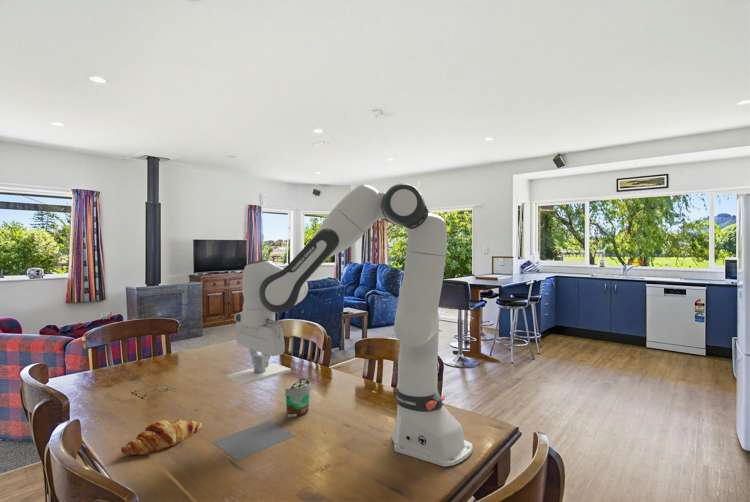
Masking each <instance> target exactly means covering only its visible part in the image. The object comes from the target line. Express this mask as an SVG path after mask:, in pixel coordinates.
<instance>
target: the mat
mask: <svg viewBox="0 0 750 502" xmlns="http://www.w3.org/2000/svg"><path fill="white" fill-rule="evenodd" d="M294 437H296V434H293V433H291V432H290V431H288V430H286V429H284V428H283V427H280V426H279V425H277V424H275V422H274V423H273V422H272V421H271V420H268V421H266V422H262V423H259V424H257V425H253V426H251V427H248V428H245V429H243V430H240V431H238V432H235V433H233V434H229V435H227V436H223V437H220V438H218V439H216V440H212V441H211V443H212V444H214V445H215V446H217V447H218V448H219V449H220V450H222V451H223V452H224V453H226V454H227V455H228V456H230V457H231V458H232V459H233V460H235V461H238V460H241V459H243V458H247V457H248V456H251V455H254V454H255V453H259V452H261V451H263V450H265V449H268V448H269V447H272V446H275V445H277V444H279V443H282V442H284V441H286V440H289V439H291V438H294Z"/></svg>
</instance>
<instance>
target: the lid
mask: <svg viewBox="0 0 750 502" xmlns="http://www.w3.org/2000/svg"><path fill="white" fill-rule="evenodd" d="M262 358H263V356H262V354H258V355H256V356H254V364H253V368H248V369H245V370H239V371H237V372H233V373H229V374H226V378H227V379H229V380H232V381H234V382H235V383H237V384H240V385H242V386H246V385H249V384H252V383H256V382H259V381H260V382H261V381H262V380H267V379H269V378H274V377H277V376H280V375H284V374H288V373H291V372H292V368H289V367H287V366H284V365H282V364H280V363H279V364H278V363H275V362H272V363H268V367H267V368H262V367H260V361H262Z"/></svg>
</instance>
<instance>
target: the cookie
mask: <svg viewBox="0 0 750 502" xmlns="http://www.w3.org/2000/svg"><path fill="white" fill-rule="evenodd" d="M160 384H161V385H157V384H156V385H157V386H155V385H152V386H153V387H151V386H149V387H150V388H147V387H145V389H144V388H140V389H136V390H137V391H136V390H133V391H134V392H132V391H131V392H132V393H131V394H133V393H135V394H140V393H143V392H146V391H147V390H148V391H149V390H151V389H154V388H155V387H157V388H158V387H160V388H161V387H166V386H168V388H167V389H166V388H164V389H163V388H162V390H160V391H157V392H155V393H162V394H163V393H165V392H167V391H172V390H176V389H177V388H175V387H173V386H170V385H168V384H167V383H164V384H162V383H160ZM141 389H143V390H141ZM146 393H148V392H146ZM146 393H145V395H144V394H142V395H141V394H140V395H141V397H142V398H144V397H148V396H147V395H151V394H150V393H149V394H146ZM135 394H134V395H135ZM152 395H153V393H152ZM154 395H155V394H154ZM163 395H164V394H163ZM142 398H141V399H142Z"/></svg>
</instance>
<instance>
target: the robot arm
mask: <svg viewBox="0 0 750 502" xmlns="http://www.w3.org/2000/svg"><path fill="white" fill-rule="evenodd" d="M379 220H383V221H386V222H388V223H390V224H392V225H395V226H399V227H404V228H405V230H406V233H407V244H406V252H405V260H404V268H403V276H402V282H401V286H400V292H399V294H398V295H399V296H398V299H397V300H398V301H397V306H396V312H395V317H394V323H393V329H394V334H395V337H396V339H397V340H398V341H399V342H400V343H399V353H398V359H397V388H396V392H395V393H396V397H395V399H396V403H397V406H396V407H397V410H396V419H395V425H394V431H393V433H392V437H391V440H392V442H393V444H394V445H393V450H394V451H395V452H396V453H400V454H403V455H406V456H409V457H411V458H414V459H417V460H418V459H419V460H421V461H424V462H429V463H431V464H434V465H437V466H441V467H452V466H455V465H457V464H460V463H461V462H464V461H465V460H466V459H467V458H469V456H471V454H472V453H473V443H471V441H468V440H466V439H465V435H464V430H463V426H462V424H461V423H460V422H459V421H458V420H457V418H455V417H454V416H453V415H452V413H451V412H449V410H448V409H447V408H446V407H445V406H444V404H443V403H444V401H446V395H443V396H441V394H440V391H439V389H438V357H439V353H438V352H439V337H440V336H439V332H440V331H439V330H440V329H439V328H440V315H439V305H440V300H441V299H440V298H441V293H442V288H443V281H444V274H445V273H444V272H445V266H446V265H445V264H446V256H447V249H448V248H447V247H448V246H447V245H448V231H447V230H448V229H447V223H446V220H445V219H444V218H443V217H441V216H440V215H438V214H435V213H433V212H432V213H431V212H429V208H428V207H427V203H426V202H425V199H424V197H423V195H422V193H421V191H420V190H419V189H418V188H417V187H416V186H414V185H412V184H410V183H405V182H404V183H403V182H402V183H398V184H393V185H392V186H391V187H389V189H388V190H387V191H386V192H381V191H379V190H378V189H377V188H375V187H374V186H372V185H370V184H365V183H362V184H359V185H357V186H356V187H355V188H353V189H352V190H351V191H350V192H348V193H347V194H346V195H345V196H344V197H343V198H342V199H341V200H340V201H338V203H337V204H336V205H335V206H334V208H333V209H332V210H331V211H330V212H329V213H328V215H326V218H325V219H324V220H323V222H322V223H321V225H320V227H318V230H317V231H316V232H315V233H314V235H313V237H312V238H311V239H310V240H309V241H308V243H307V244H306V245H305V246H304V247H303V248H302V249H301V250H300V252H299V253H298V254H296V255H295V257H294V258H293V259H292V260H291V261H290V262H289V263H288V264H287V266H285V267H284V268H283V267H281V266H279V265H278V264H276V263H275V262H274V261H272V260H271V259H262V260H256V261H252V262H248V263H247V264H246V265H245V266H244V269H243V275H242V295H243V305H242V311H240V312H237V313H235V314H234V321H235V322H236V323H235V340H236V343H237V345H238V346H240V347H243V348H247V349H248V353H249V355H250V358H251V360H250V361H251V364H252V365H254V356H256V355H259V354H258V352H260V353H261V355H262V356H263V358H262V361H260V367H262V368H267V367H268V364H269V361H270V358H271V356H272V357H276V356H281V355H283V354H284V352H285V350H286V347H285V345H286V344H285V335H284V330H283V328H282V326H281V324H280V323H279V321H277V320H276V314H283V313H286V312H288V311H290V310H291V309H292V308H293V307H294V306H296V305H298V304H299V303H301V302H302V301H303V300H304V299H305V298H306V297H307V295H308V292H309V284H308V280H309V279H310V278H311V276H313V275H314V273H315V272H316V271H317V270H318V269H319V268H320V267H321V266H322V264H324V263H325V262H326V261H327V260H329V259H330V258H332V257H333V256H335V255H337V254H340V253H341V252H343V251H346V250H347V249H349V248H351V247H352V246H353V245H354V244H355V243H357V241H359V240H360V239H361V238H362V237H363V236H364V235H365V233H367V232H368V230H369V229H370V228H371V227H372V226H373V224H375V223H376V222H378V221H379Z"/></svg>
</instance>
